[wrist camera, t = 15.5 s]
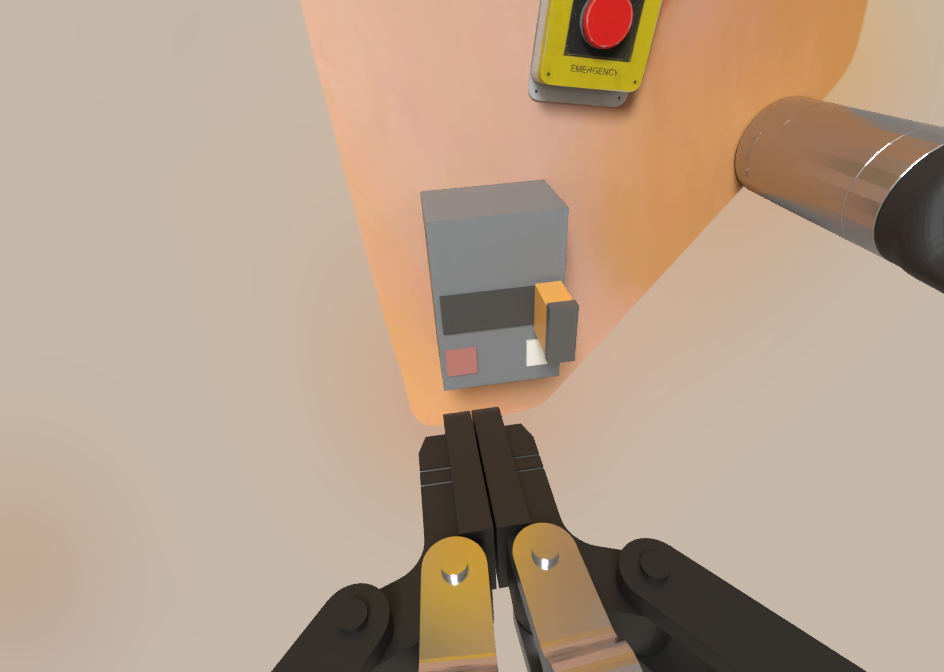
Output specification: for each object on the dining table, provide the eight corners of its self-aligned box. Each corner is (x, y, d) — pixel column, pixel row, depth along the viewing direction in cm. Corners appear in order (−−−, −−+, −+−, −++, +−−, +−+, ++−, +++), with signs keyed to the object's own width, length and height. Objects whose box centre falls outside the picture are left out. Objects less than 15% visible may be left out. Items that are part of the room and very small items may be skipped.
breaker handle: (561, 277, 44) (578, 305, 40) (558, 329, 47) (574, 360, 43) (534, 280, 44) (550, 309, 40) (533, 332, 47) (547, 364, 43)
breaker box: (543, 179, 47) (569, 208, 41) (539, 333, 58) (559, 377, 51) (420, 191, 46) (425, 223, 40) (437, 346, 57) (444, 392, 50)
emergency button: (536, 106, 40) (575, -144, 32) (524, 98, 44) (556, -129, 36) (641, 116, 42) (704, -121, 34) (621, 107, 45) (673, -108, 37)
